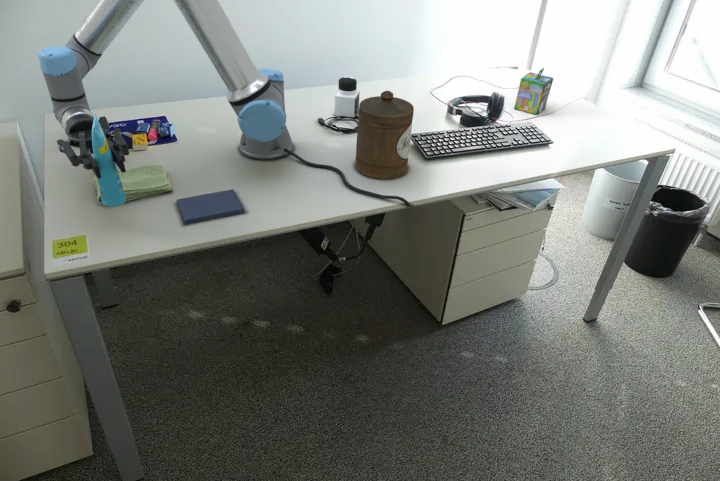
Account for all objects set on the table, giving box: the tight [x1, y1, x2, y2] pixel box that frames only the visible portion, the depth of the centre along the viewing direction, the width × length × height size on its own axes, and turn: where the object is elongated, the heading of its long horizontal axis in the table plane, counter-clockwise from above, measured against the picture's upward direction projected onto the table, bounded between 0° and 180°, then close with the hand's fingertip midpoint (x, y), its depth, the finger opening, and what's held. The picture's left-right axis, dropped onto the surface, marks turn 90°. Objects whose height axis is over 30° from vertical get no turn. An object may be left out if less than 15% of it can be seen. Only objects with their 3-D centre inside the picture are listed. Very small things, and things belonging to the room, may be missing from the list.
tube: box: [92, 113, 127, 207], centre depth 110 cm, size 7×5×19 cm, turn 26°
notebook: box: [175, 188, 245, 225], centre depth 126 cm, size 14×10×1 cm
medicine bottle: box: [333, 76, 360, 119], centre depth 176 cm, size 7×7×12 cm
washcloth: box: [92, 164, 173, 204], centre depth 131 cm, size 13×18×3 cm
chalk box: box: [513, 67, 554, 116], centre depth 187 cm, size 9×9×15 cm
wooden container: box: [355, 90, 415, 180], centre depth 142 cm, size 15×15×22 cm
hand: (110, 169), depth 106 cm, fingers closed on tube, 4 cm apart
